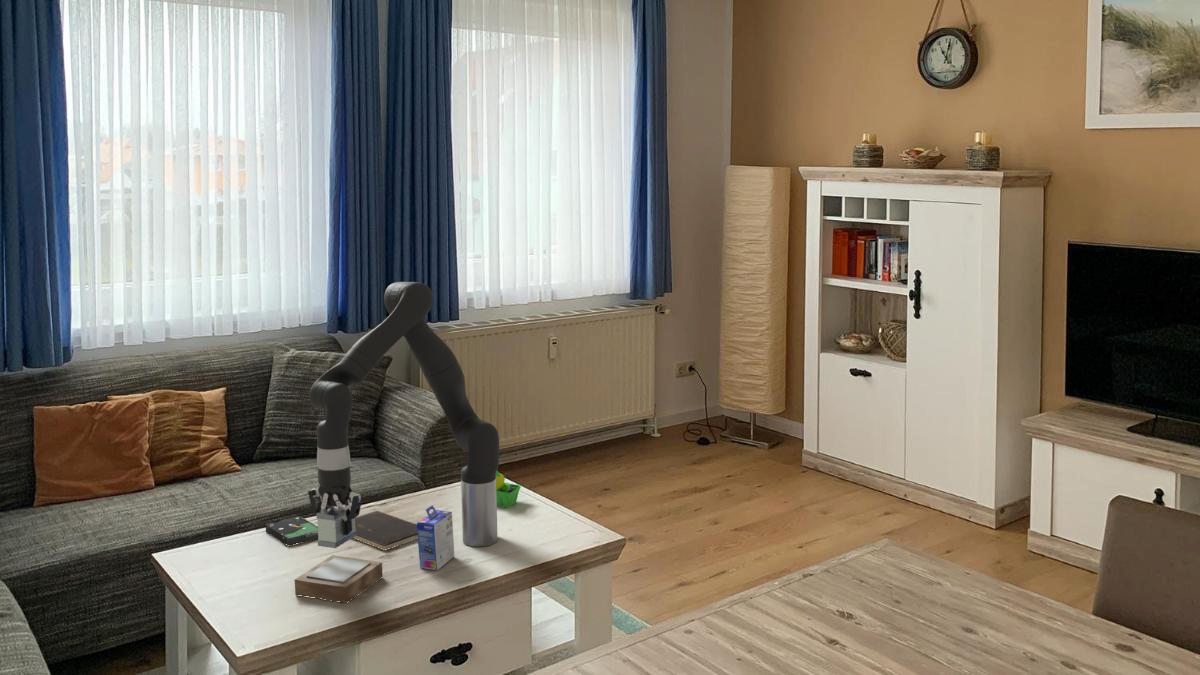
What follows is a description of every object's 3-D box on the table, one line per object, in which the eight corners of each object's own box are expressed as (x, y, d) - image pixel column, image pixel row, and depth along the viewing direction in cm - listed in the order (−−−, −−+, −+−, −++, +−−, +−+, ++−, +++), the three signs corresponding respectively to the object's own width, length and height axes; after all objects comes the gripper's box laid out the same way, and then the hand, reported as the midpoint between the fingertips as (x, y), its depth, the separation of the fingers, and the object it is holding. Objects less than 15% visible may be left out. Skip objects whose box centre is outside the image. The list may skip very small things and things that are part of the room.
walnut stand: (333, 570, 270) (332, 553, 269) (382, 577, 266) (381, 560, 265) (295, 595, 255) (294, 578, 254) (346, 603, 251) (346, 585, 250)
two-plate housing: (317, 545, 255) (316, 513, 253) (339, 532, 263) (337, 501, 262) (335, 548, 253) (334, 515, 252) (356, 535, 262) (354, 503, 260)
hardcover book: (384, 553, 282) (384, 545, 282) (332, 532, 297) (331, 524, 297) (431, 536, 294) (431, 528, 294) (379, 517, 309) (379, 509, 309)
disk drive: (264, 533, 297) (288, 548, 286) (264, 523, 297) (287, 538, 285) (300, 524, 304) (324, 538, 293) (299, 515, 303) (324, 528, 292)
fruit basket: (522, 501, 321) (521, 464, 319) (507, 510, 313) (507, 473, 311) (488, 496, 325) (488, 460, 323) (473, 505, 317) (472, 468, 315)
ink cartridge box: (436, 554, 280) (434, 500, 278) (455, 556, 279) (453, 502, 276) (417, 568, 271) (415, 513, 269) (437, 571, 269) (435, 515, 267)
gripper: (368, 462, 256) (371, 531, 259) (316, 457, 261) (320, 524, 264) (351, 471, 249) (354, 542, 252) (298, 465, 254) (302, 534, 257)
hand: (337, 532), depth 258 cm, fingers closed on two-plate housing, 4 cm apart
